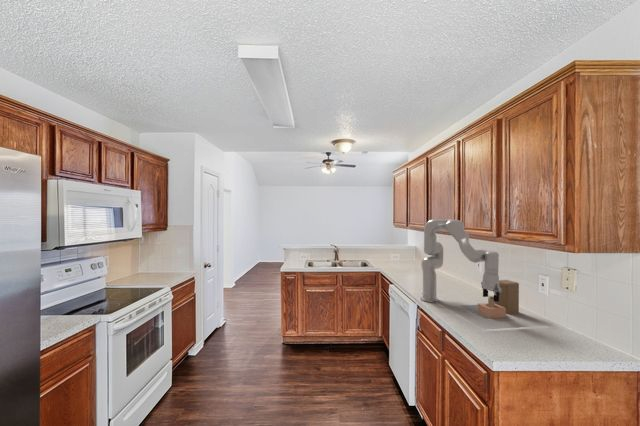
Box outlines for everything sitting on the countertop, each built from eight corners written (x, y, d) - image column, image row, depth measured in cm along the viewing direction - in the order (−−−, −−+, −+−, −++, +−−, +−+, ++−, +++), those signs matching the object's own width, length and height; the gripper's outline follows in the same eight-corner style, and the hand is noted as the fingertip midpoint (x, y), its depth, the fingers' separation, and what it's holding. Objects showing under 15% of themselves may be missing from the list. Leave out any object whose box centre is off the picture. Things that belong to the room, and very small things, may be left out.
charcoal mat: (459, 306, 209) (459, 305, 209) (482, 305, 211) (482, 304, 211) (485, 320, 183) (485, 318, 183) (511, 318, 185) (511, 317, 185)
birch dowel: (486, 312, 192) (486, 296, 192) (491, 311, 192) (492, 295, 192) (490, 314, 188) (490, 297, 188) (495, 313, 189) (496, 297, 189)
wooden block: (505, 309, 204) (505, 279, 204) (519, 314, 194) (519, 282, 194) (493, 310, 201) (494, 280, 201) (507, 315, 191) (507, 283, 191)
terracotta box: (477, 312, 195) (477, 303, 195) (493, 311, 196) (493, 302, 196) (489, 318, 184) (489, 308, 184) (505, 317, 185) (506, 308, 185)
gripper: (476, 268, 198) (476, 295, 198) (495, 274, 181) (495, 303, 181) (487, 268, 199) (486, 294, 199) (507, 274, 182) (506, 303, 182)
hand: (490, 299), depth 190 cm, fingers open, 9 cm apart
